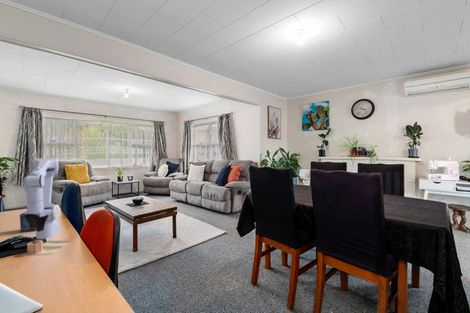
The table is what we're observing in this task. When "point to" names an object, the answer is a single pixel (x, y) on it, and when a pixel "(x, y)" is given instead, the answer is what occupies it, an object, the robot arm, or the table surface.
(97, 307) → the table surface
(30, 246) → the light brown wooden block
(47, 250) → the board
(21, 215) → the small box
